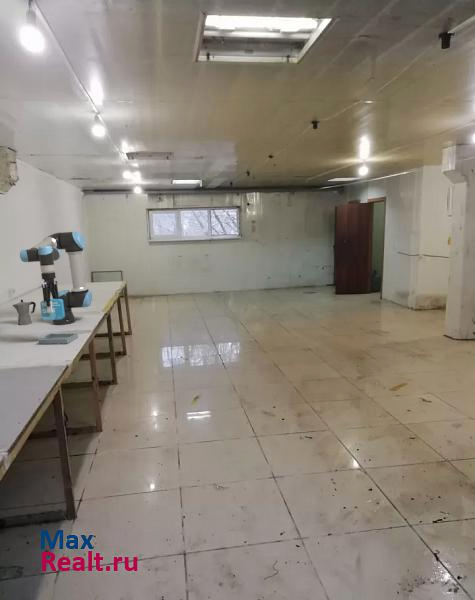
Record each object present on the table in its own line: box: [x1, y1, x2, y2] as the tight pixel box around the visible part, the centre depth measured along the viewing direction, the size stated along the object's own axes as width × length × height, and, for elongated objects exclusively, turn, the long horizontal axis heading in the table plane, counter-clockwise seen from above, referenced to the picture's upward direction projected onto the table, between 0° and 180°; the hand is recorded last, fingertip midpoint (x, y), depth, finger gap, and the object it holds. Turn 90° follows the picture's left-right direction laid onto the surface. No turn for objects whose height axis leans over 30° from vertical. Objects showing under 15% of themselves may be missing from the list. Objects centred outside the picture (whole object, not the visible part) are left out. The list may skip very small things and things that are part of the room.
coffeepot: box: [11, 299, 37, 326], centre depth 308 cm, size 15×9×18 cm, turn 121°
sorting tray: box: [37, 332, 79, 346], centre depth 256 cm, size 14×18×3 cm
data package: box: [40, 298, 65, 322], centre depth 253 cm, size 12×4×12 cm, turn 99°
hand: (52, 310), depth 253 cm, fingers closed on data package, 5 cm apart
